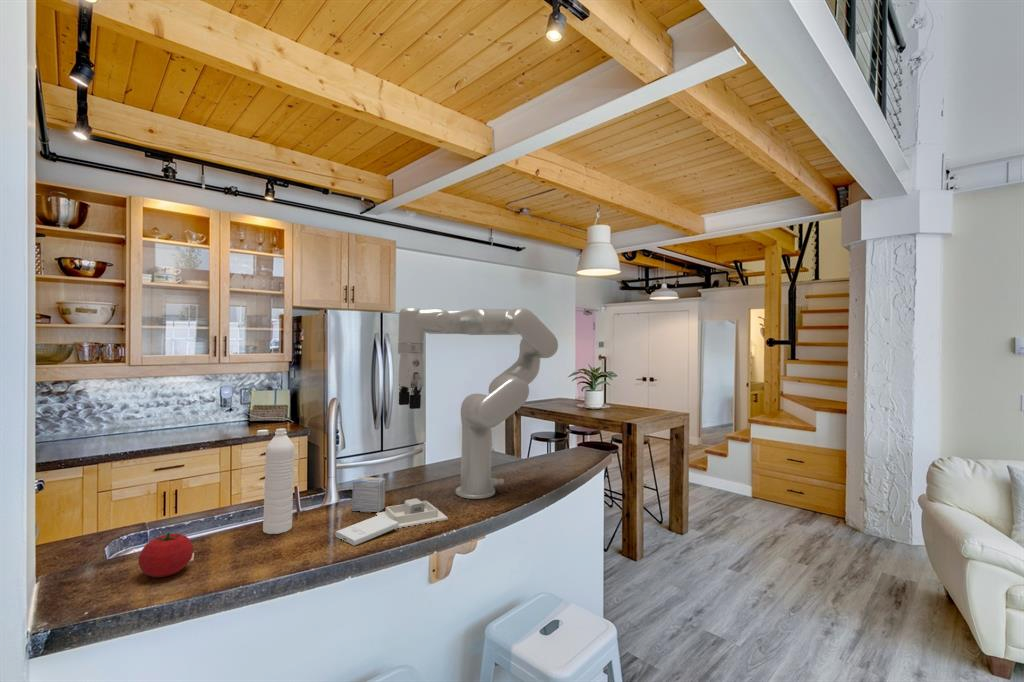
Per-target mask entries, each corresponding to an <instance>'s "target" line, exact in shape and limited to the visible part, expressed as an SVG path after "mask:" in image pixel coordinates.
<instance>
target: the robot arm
mask: <svg viewBox="0 0 1024 682" xmlns="http://www.w3.org/2000/svg"><path fill="white" fill-rule="evenodd" d="M425 334H429V335H432V334H433V335H439V334H440V335H443V334H444V335H447V334H448V335H454V334H455V335H468V336H490V335H491V336H493V335H494V336H503V335H504V336H509V335H510V336H513V335H520V336H521V339H520V343H519V354H518V358H517V360H516V361H515V362H514V363H513V364H512V365H510V366H509V367H508V368H507V369H506V370H504V371H503V372H501V373H500V374H499V375H497V376H496V377H495V378H493V379H492V380H491V382H490V384H489V385H488V395H486V394H482V393H471V394H469V395H467V396H466V397H464V399H463V400H462V403H461V405H460V406H461V407H460V422H461V462H460V465H461V467H460V485H459V486H458V487H456V488H455V494H456V496H458V497H460V498H464V499H469V500H470V499H472V500H478V499H479V500H482V499H487V498H490V497H494V496H495V494H496V488H495V487H496V486H502V485H504V484H505V480H504V478H497V477H494V478H493V477H492V475H491V474H492V444H493V443H492V442H493V436H492V435H493V434H492V433H493V432H492V428H495V427H497V426H498V425H500V424H501V423H503V422H504V421H505V420H506V419H507V418H509V417H511V415H513V414H514V413H515V412H516V411H517V410H518V409H520V408H521V407H522V406H523V405H524V404H525V403H526V402H527V400H528V399H529V398H528V397H529V395H530V388H529V387H530V386H529V385H530V384H531V383H533V381H534V380H535V379H536V377H537V376H538V374H539V372H540V367H541V366H540V365H541V359H549V358H552V357H553V356H554V355H556V353H557V352H558V349H559V343H558V339H557V337H556V335H555V334H554V333H553V332H552V331H551V330H550V328H548V326H547V325H545V323H543V322H542V321H541V320H540V318H539V317H538V316H537V315H535V314H534V313H533V312H532V311H531V310H529V309H527V308H525V307H520V308H519V307H517V308H509V309H508V308H505V309H504V308H471V309H466V310H445V309H443V308H432V309H431V308H430V309H422V308H416V307H404V308H403V307H402V308H401V309H400V310H399V313H398V335H397V336H398V339H397V340H398V341H397V354H398V355H399V364H398V386H399V387H398V405H399V406H405V405H406V406H408V408H409V409H410V410H416V409H418V410H419V409H421V405H422V404H421V403H422V402H421V401H422V400H421V399H422V388H423V387H424V386H425V385H424V384H425V382H424V381H425V373H424V372H425V371H424V370H425V369H424V367H425V366H424V356H423V355H424V354H425V353H424V350H425V348H424V346H425V344H424V343H425Z"/></svg>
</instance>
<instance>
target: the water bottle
mask: <svg viewBox="0 0 1024 682" xmlns="http://www.w3.org/2000/svg"><path fill="white" fill-rule="evenodd" d="M287 433H288V431H287V428H283V427H282V428H281V427H280V428H276V429H275V433H274V434H275V435H274V436H273V438H272V439H271V440H270V441H269V443H268V444H267V446H266V448H265V460H264V461H265V469H264V472H265V473H264V486H263V487H264V493H263V495H264V499H263V505H264V506H263V517H262V518H263V519H262V520H263V523H262V531H263V533H264V534H268V535H273V534H274V535H279V534H282V533H287V532H288V531H290V530H292V528H293V508H294V501H293V499H294V495H293V494H294V480H295V479H294V472H295V471H294V469H295V468H294V467H295V451H296V449H295V445H294V443H293V441H292V440H291V439H290V437H289V436H288V435H287ZM256 435H257V436H267V435H269V429H258V430H256Z"/></svg>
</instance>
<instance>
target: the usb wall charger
mask: <svg viewBox="0 0 1024 682" xmlns="http://www.w3.org/2000/svg"><path fill="white" fill-rule="evenodd" d="M424 510H425V504H424V503H422V502H421V500H420V499H419V498H411V499H406V500H404V514H405V515H407V514H413V513H419V512H424Z"/></svg>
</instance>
